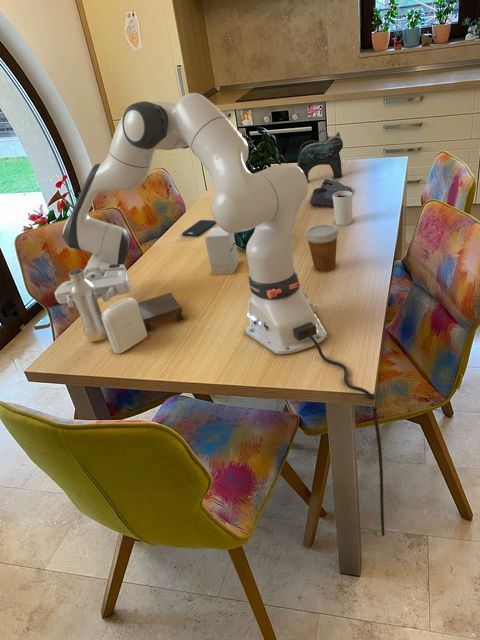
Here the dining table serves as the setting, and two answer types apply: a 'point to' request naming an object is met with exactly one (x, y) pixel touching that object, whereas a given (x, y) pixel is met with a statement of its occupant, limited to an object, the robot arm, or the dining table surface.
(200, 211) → the dining table surface
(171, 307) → the walnut riser
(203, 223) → the cell phone
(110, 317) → the photo printer
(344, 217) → the white paper cup
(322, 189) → the dark slate chunk
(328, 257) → the disposable coffee cup
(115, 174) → the robot arm
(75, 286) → the aluminum water bottle
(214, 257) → the white packaging box
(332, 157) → the ceramic cat
